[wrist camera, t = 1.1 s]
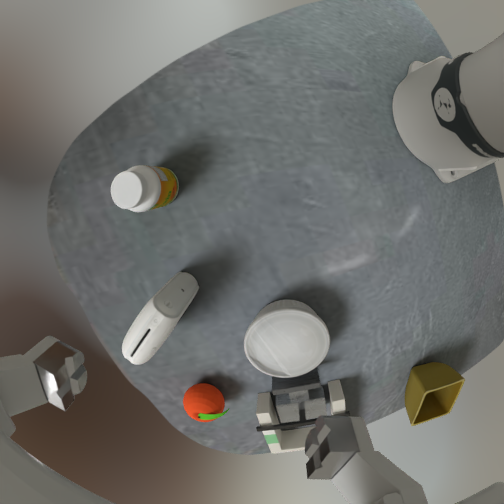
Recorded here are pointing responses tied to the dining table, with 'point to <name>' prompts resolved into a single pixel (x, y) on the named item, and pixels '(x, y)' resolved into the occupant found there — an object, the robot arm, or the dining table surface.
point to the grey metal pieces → (298, 400)
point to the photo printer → (159, 318)
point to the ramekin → (286, 339)
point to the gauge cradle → (295, 437)
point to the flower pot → (431, 391)
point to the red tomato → (204, 402)
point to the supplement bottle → (144, 188)
